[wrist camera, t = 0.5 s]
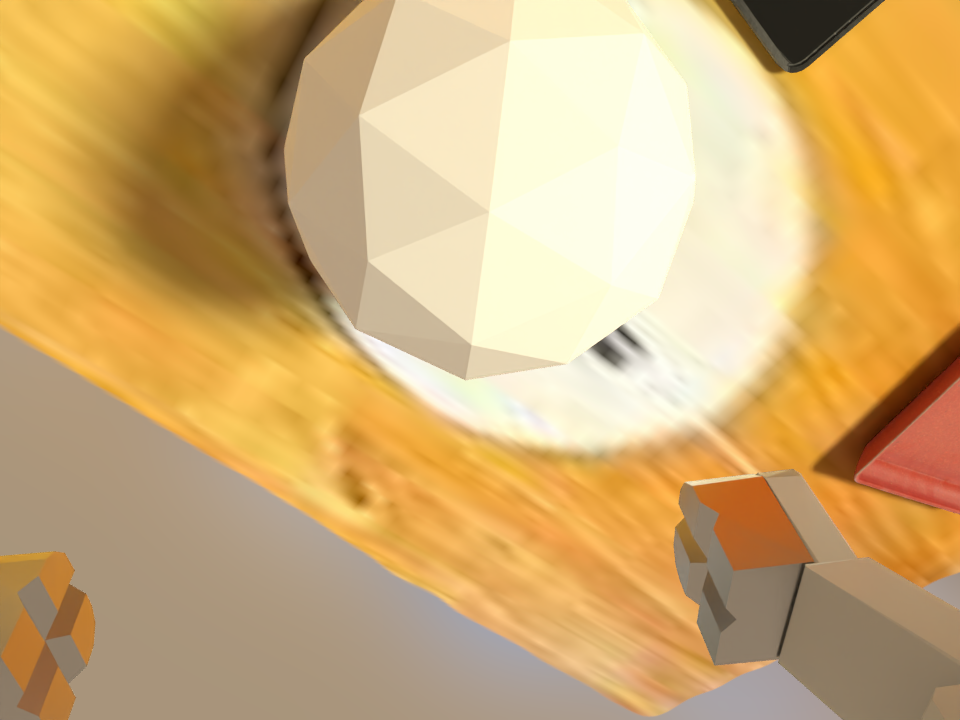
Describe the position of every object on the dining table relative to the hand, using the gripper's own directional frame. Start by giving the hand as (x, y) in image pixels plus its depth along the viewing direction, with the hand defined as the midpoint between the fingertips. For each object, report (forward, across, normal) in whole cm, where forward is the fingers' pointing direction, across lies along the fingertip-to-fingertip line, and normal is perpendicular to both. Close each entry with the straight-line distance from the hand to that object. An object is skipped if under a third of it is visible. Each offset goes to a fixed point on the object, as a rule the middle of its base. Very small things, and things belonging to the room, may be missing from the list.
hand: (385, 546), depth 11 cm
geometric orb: (+38, -4, +5) cm, 39 cm away
